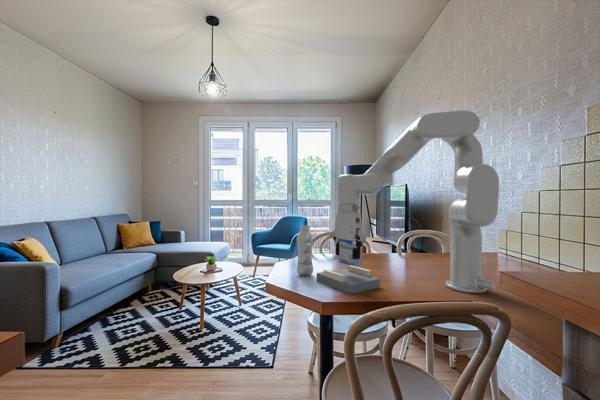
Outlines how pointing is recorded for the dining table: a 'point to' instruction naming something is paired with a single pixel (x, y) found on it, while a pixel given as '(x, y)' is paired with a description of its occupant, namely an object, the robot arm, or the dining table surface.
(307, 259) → the plastic bottle
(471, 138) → the robot arm
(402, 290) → the dining table surface
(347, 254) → the medicine box
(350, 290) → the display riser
